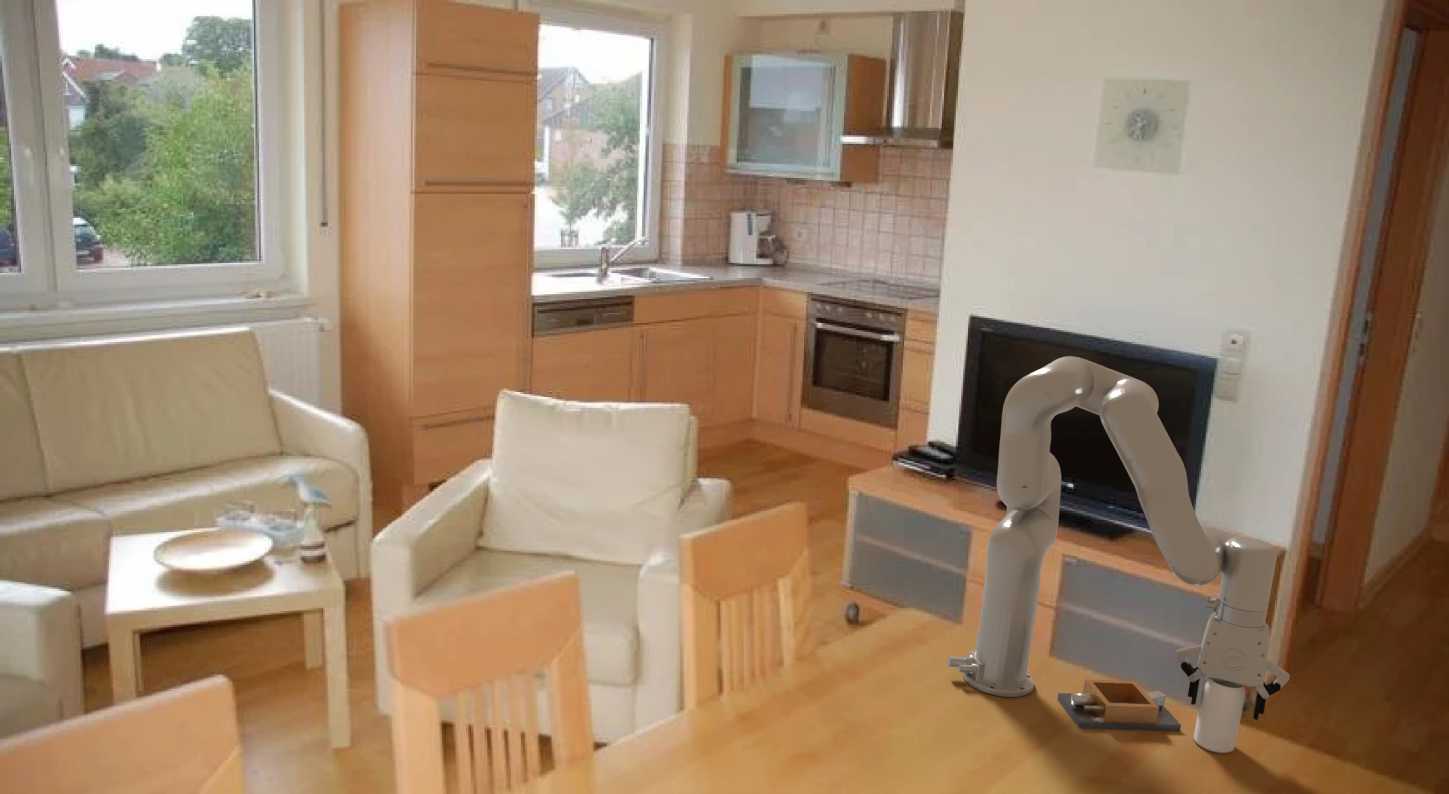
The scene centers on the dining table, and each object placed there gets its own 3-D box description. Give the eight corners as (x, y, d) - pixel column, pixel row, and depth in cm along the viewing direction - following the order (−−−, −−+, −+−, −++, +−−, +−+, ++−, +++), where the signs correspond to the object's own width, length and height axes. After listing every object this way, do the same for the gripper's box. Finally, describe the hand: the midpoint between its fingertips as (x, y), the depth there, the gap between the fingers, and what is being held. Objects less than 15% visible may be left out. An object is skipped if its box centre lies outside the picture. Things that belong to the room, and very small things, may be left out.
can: (1237, 757, 193) (1251, 691, 190) (1196, 750, 194) (1209, 684, 191) (1229, 738, 199) (1242, 674, 196) (1189, 731, 200) (1202, 667, 197)
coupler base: (1078, 728, 198) (1082, 705, 197) (1057, 699, 208) (1060, 677, 207) (1179, 731, 200) (1184, 709, 199) (1153, 702, 210) (1157, 681, 209)
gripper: (1183, 609, 191) (1167, 705, 195) (1299, 633, 184) (1281, 732, 188) (1186, 594, 198) (1171, 687, 201) (1298, 617, 191) (1280, 713, 195)
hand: (1224, 708), depth 195 cm, fingers open, 9 cm apart
